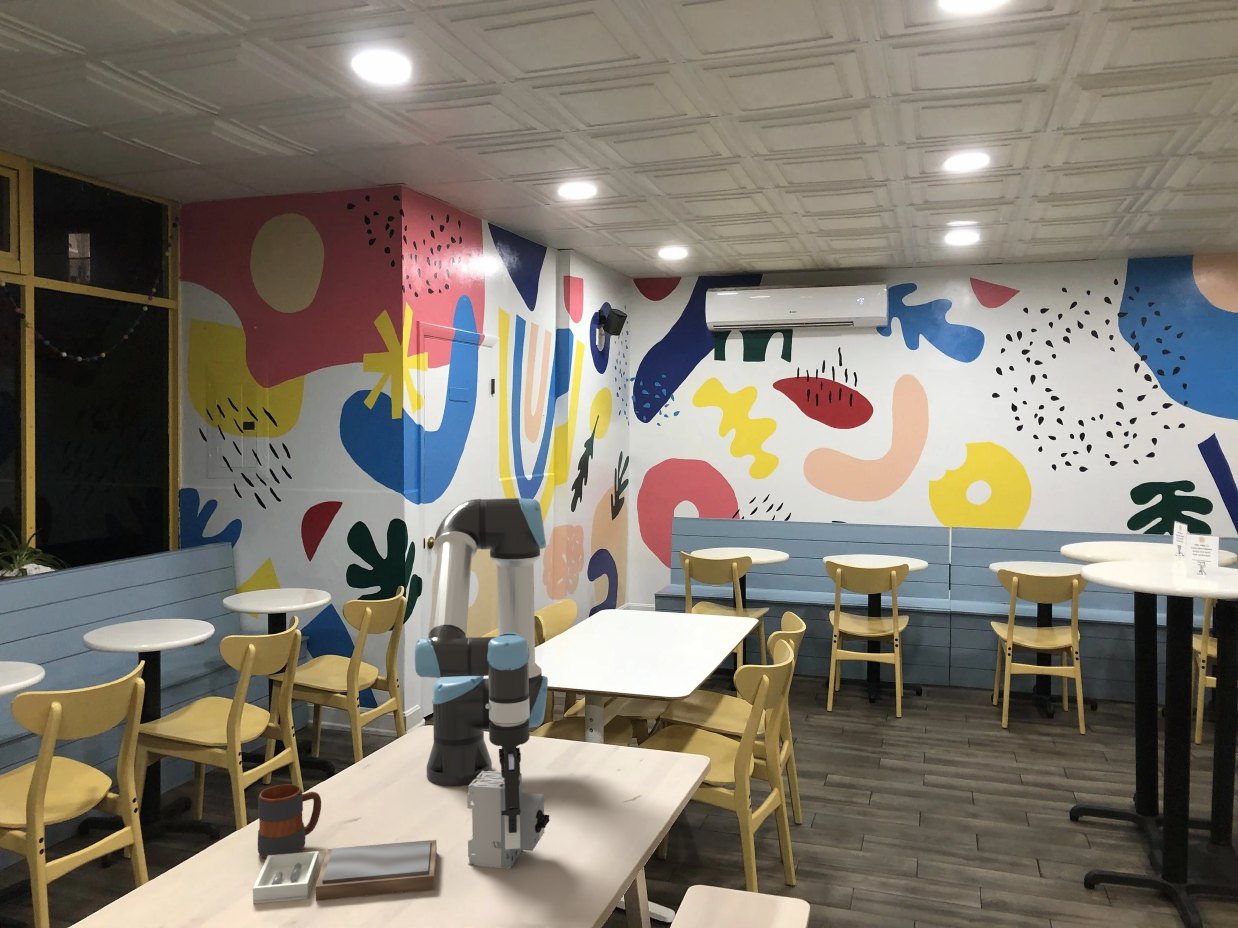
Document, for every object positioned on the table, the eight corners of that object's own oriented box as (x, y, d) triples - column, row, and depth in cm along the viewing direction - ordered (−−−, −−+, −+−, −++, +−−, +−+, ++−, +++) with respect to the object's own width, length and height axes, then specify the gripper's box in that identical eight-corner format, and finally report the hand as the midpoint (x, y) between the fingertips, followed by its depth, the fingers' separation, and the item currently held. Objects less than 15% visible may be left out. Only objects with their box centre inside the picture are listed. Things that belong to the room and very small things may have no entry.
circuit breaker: (541, 871, 165) (541, 791, 164) (468, 864, 168) (467, 785, 167) (553, 852, 172) (552, 775, 171) (482, 846, 175) (481, 770, 174)
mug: (328, 848, 175) (327, 789, 174) (264, 866, 168) (262, 804, 167) (315, 832, 182) (314, 775, 181) (253, 848, 175) (251, 789, 174)
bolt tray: (268, 869, 166) (268, 855, 166) (319, 865, 168) (318, 850, 168) (253, 903, 155) (252, 888, 155) (307, 898, 156) (307, 883, 156)
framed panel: (328, 861, 169) (327, 846, 169) (436, 852, 173) (436, 837, 172) (315, 900, 155) (315, 883, 155) (433, 889, 159) (433, 872, 159)
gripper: (487, 701, 180) (489, 805, 181) (490, 744, 156) (492, 864, 157) (525, 698, 182) (526, 802, 183) (534, 741, 157) (535, 860, 158)
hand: (510, 831), depth 170 cm, fingers open, 13 cm apart
